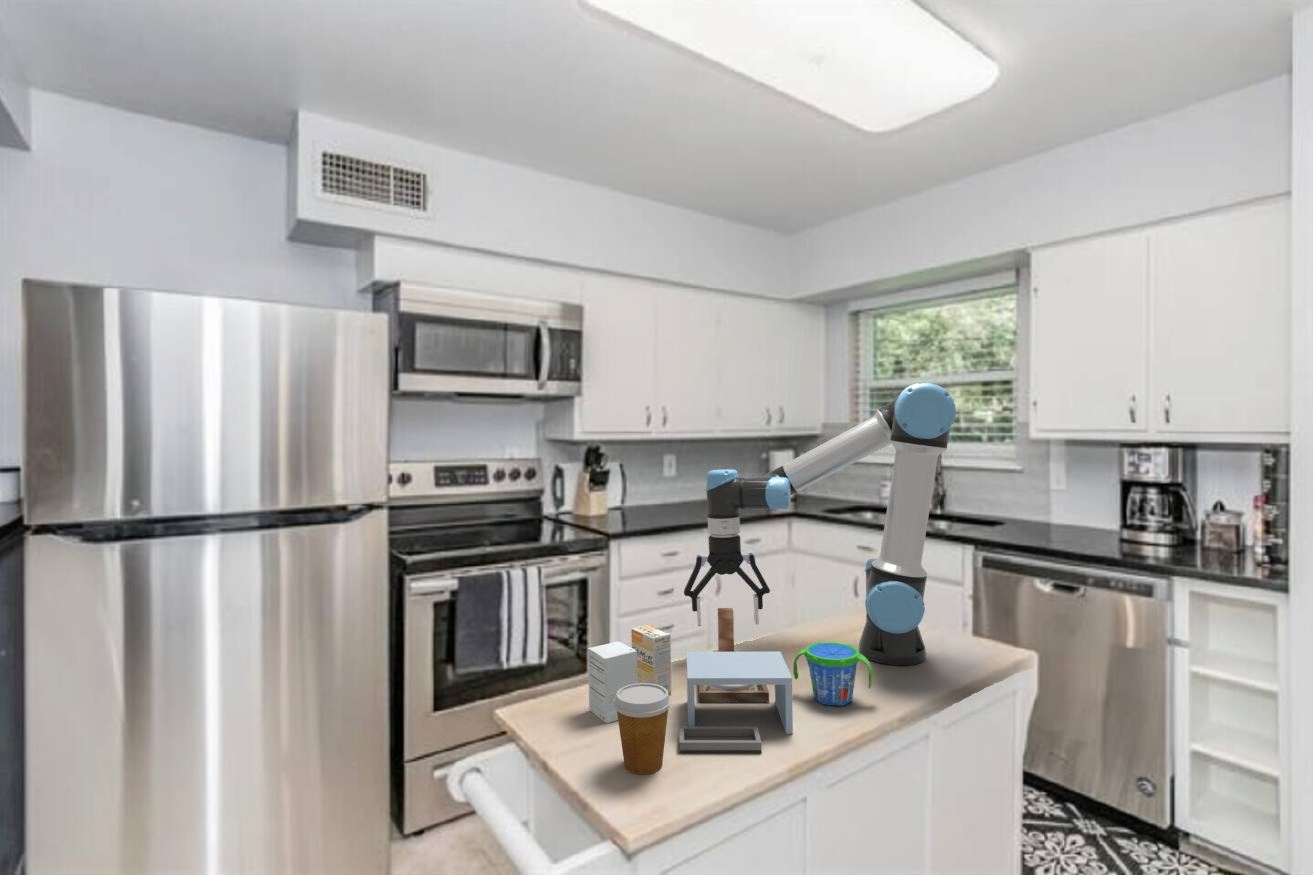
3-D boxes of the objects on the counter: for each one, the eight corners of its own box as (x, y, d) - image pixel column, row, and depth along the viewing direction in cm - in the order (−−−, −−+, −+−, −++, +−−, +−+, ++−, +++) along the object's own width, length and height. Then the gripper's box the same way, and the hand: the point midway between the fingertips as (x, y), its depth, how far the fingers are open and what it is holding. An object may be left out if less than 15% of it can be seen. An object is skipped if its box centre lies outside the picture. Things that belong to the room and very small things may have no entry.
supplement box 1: (620, 701, 136) (619, 640, 136) (639, 714, 130) (638, 650, 129) (588, 710, 132) (586, 647, 132) (605, 724, 126) (604, 657, 125)
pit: (757, 736, 120) (757, 726, 120) (761, 752, 114) (761, 742, 114) (679, 736, 120) (679, 726, 120) (679, 752, 114) (679, 742, 114)
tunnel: (781, 701, 135) (780, 651, 134) (792, 733, 121) (792, 677, 120) (687, 701, 135) (686, 651, 135) (688, 733, 121) (687, 678, 121)
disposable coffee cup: (645, 745, 117) (644, 677, 117) (684, 764, 110) (682, 692, 110) (602, 764, 111) (601, 693, 111) (641, 786, 104) (639, 710, 104)
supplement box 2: (630, 688, 142) (629, 627, 142) (649, 683, 145) (648, 623, 145) (653, 701, 136) (652, 637, 136) (672, 695, 139) (671, 632, 138)
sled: (754, 657, 160) (754, 607, 160) (769, 702, 134) (768, 643, 134) (696, 657, 161) (695, 608, 160) (699, 702, 135) (698, 643, 135)
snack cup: (787, 702, 134) (786, 651, 134) (802, 683, 144) (802, 636, 143) (866, 717, 127) (866, 664, 127) (877, 697, 136) (877, 647, 136)
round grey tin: (731, 705, 134) (730, 688, 134) (698, 690, 142) (697, 674, 141) (765, 692, 140) (765, 675, 140) (731, 678, 148) (731, 663, 148)
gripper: (671, 539, 155) (675, 630, 155) (779, 535, 154) (783, 626, 154) (671, 534, 163) (675, 620, 163) (774, 530, 162) (778, 617, 162)
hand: (727, 623), depth 159 cm, fingers open, 13 cm apart
